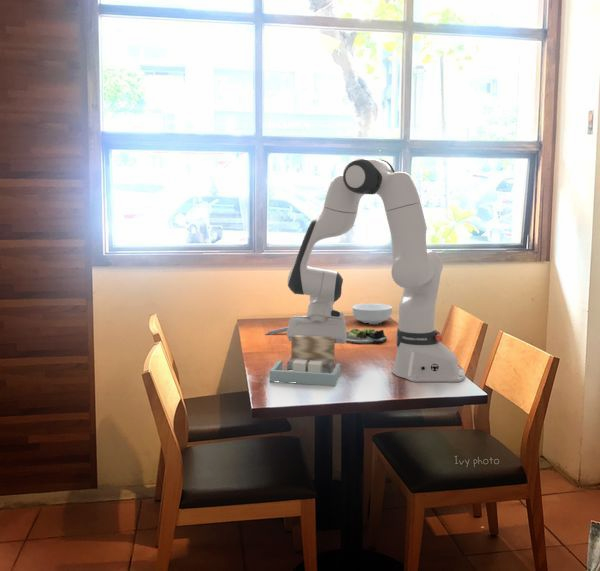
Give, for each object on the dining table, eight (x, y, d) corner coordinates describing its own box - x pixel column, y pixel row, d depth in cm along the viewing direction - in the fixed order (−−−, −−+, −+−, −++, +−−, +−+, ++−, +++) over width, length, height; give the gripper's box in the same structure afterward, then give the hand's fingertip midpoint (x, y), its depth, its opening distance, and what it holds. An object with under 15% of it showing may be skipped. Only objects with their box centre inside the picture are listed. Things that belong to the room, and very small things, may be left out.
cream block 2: (322, 373, 205) (322, 361, 204) (320, 376, 201) (320, 364, 200) (310, 372, 206) (310, 360, 205) (307, 376, 202) (307, 363, 201)
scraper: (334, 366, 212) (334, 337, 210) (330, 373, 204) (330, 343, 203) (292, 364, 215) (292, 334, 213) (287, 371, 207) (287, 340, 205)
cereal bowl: (387, 318, 287) (387, 302, 286) (395, 326, 270) (395, 309, 269) (349, 318, 286) (349, 302, 285) (355, 327, 269) (355, 310, 268)
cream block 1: (307, 372, 206) (307, 360, 205) (305, 375, 202) (305, 363, 201) (295, 371, 207) (295, 359, 206) (292, 375, 203) (292, 362, 202)
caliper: (315, 332, 260) (315, 317, 259) (315, 333, 259) (315, 318, 258) (264, 334, 257) (264, 319, 256) (265, 335, 256) (265, 319, 255)
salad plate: (339, 346, 239) (339, 334, 239) (332, 335, 257) (332, 323, 256) (390, 345, 241) (390, 333, 240) (380, 334, 259) (380, 322, 258)
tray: (340, 374, 203) (340, 363, 203) (334, 386, 192) (335, 374, 191) (278, 370, 207) (278, 360, 207) (269, 381, 196) (269, 370, 195)
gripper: (288, 310, 221) (282, 345, 213) (347, 313, 217) (343, 349, 209) (291, 320, 226) (285, 355, 218) (349, 323, 222) (345, 358, 214)
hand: (314, 352), depth 213 cm, fingers closed
